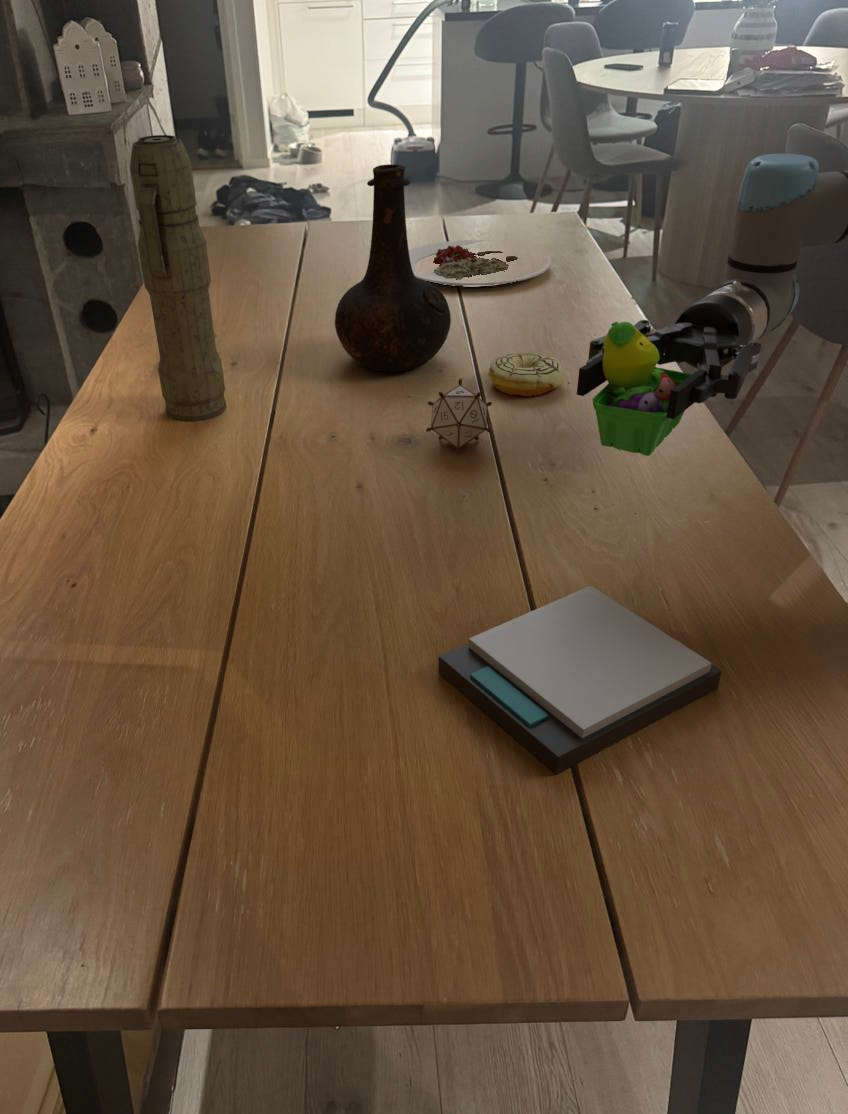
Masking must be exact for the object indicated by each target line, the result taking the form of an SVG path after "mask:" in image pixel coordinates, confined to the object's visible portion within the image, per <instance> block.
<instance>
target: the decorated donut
mask: <svg viewBox="0 0 848 1114" xmlns="http://www.w3.org/2000/svg"><path fill="white" fill-rule="evenodd" d="M488 371H489V372H488V376H489V379H490V381H491V382H492V384H493V386H494V387H495V388H496V389H497V390H498V391H500V392H502V393H504V394H507V395H509V396H521V397H532V396H533V395H534V397H537V396H540V395H543V393H544V394H546V393H549V392H551V391H554V390H553V389H555V388H556V389H557V388H558V387H559V386H560V385H561V384H562V381H563V377H564V374H565V369H564V366H563V364H562V363H561V362H560V361H559V360H558V359H557V358H555V357H553V356H551V355H545V354H538V353H532V352H527V353H526V352H525V353H509V354H506V355H502V356H499V357H497V358H495V359H493V360H492V362H490V363H489V368H488ZM556 389H555V390H556ZM550 390H551V391H550ZM548 391H549V392H548ZM536 395H537V396H536Z"/></svg>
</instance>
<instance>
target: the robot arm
mask: <svg viewBox="0 0 848 1114" xmlns="http://www.w3.org/2000/svg"><path fill="white" fill-rule="evenodd" d="M819 168H820V167H819V161H818V160H817V159H815V158H814V157H812V156H809V155H805V154H797V153H766V154H761V155H758V156H757V157H754V158H753V159H751V161H749V163H748V164H747V166H746V168H745V171H744V174H743V178H742V181H741V185H740V188H739V193H738V197H737V199H736V211H735V219H734V224H733V229H732V238H731V244H730V249H729V253H728V255H727V260H726V265H725V270H724V276H723V281H722V285H721V286H719V287H717V288H716V290H714V291H713V292H710V293H709V294H708V295H706V296H704V297H702V298H701V299H699V300H697V301H696V302H694V303H693V304H691V305H689V306H688V307H687V308H686V309H685V310H684V311H683V312H682V313H681V314H680V315H679V316H678V318H677V319H676V321H675V322H674V323H673V324H670V325H666V326H664V327H662V328H661V329H657V328H652V325H650V324H651V322H650V321H649V320H647V319H640V320H638V321H637V322H636V323H635V324H634V325H633V326H634V327H636V328H637V329H638V330H639V331H640V332H641V333H642V334H643V335H644V336H645V337H646V338H647V339H648V340H649V341H650V342H651V343H652V344H654V345H655V347H656V348H657V350H658V352H659V356H660V360H659V361H658V362H657V364H656V365H660V366H662V365H666V364H671V363H677V364H681V363H686V364H687V365H688V366H690V367H692V368H693V369H696V371H694V372H693V373H691V374H692V375H691V376H689V377H688V378H687V379H685V380H684V381H683V382H681V383H680V384H679V385H677V386H676V387H675V388H673V389H672V390H671V392H670V398H669V404H668V410H667V416H666V417H667V418H671V419H675V418H676V417H677V416H678V415H680V414H681V413H682V412H683V411H684V412H685V411H686V410H687V409H689V408H690V407H692V405H694V404H703V403H705V402H706V401H707V400H708V399H710V398H714V397H717V395H718V394H723V397H724V398H726V399H727V400H735V399H737V398H738V396H739V393H740V391H741V389H742V387H743V385H744V382H745V381H746V378H747V376H748V374H749V373H751V372H752V371H754V370H756V369H757V368H758V365H759V364H758V363H759V359H760V354H761V349H762V343H760V342H758V340H760V339H761V338H763V337H764V336H765V335H768V333H770V332H772V331H774V330H775V329H777V328H778V327H780V326H781V325H782V323H783V322H785V320H786V319H787V317H789V316H790V314H792V313H793V310H794V309H795V307H796V306H797V304H798V301H799V297H800V285H799V281H798V278H797V275H796V274H795V273H796V268H797V266H798V265H797V264H798V261H799V257H800V255H801V254H800V253H801V250H802V247H813V246H824V245H832V244H833V245H834V244H844V243H848V170H836V171H835V170H834V171H824V172H819ZM605 336H606V335H604V336H601V337H598V338H595V339H593V340H590V341H589V349H588V357H587V358H588V359H587V360H586V363H585V364H584V365H583V366H581V367H579V368H578V375H577V376H578V377H577V386H576V395H577V396H581V397H584V396H586V395H587V394H589V393H591V392H592V391H594V390H595V389H596V388H598V387H599V386H602V385H603V384H604V383H605V382H608V381H607V379H606V377H605V375H604V372H603V357H604V339H605ZM732 361H733V363H732V365H731V367H730V370H729V371H728V374H722V369H723V367H725V366H727V365H728V364H730V363H731V362H732Z"/></svg>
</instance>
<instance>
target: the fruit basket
mask: <svg viewBox="0 0 848 1114" xmlns="http://www.w3.org/2000/svg"><path fill="white" fill-rule="evenodd" d="M604 336H605V339H604V357H603V372H604V375H605V377H606V379H607V381H606V382H608V383H607V384H606V386H605V387H603V388H602V389H601V390H600V391H599V392H597V394H596V395H595V396H593V398H592V400H591V401H592V406H593V410H594V411H595V416H596V421H597V427H598V433H599V438H600V444H601V446H602V447H609V448H613V449H616V450H620V451H624V452H628V453H633V454H640V455H643V456H646V457H649V456H651V455H652V454H653V452H655V450H656V448H658V447H659V446H660V445H661V444H662V443H663V442H664V439H666V438H667V437H668V436H669V435H670V434H671V433H672V431H673V430H674V429H675V428H676V427H677V426H678V425H679V423H680V422H681V420H682V417H683V415H684V413H685V411H683V412H682V413H681V414H680V415H678V416H677V417H676V418H675V419H671V418H667V417H666V416H667V410H668V404H669V398H670V392H671V390H672V389H673V388H675V387H676V386H677V385H679V384H680V383H681V382H683V381H684V380H685V379H687V378H688V377H689V376H691V375H692V374H693V373H687V372H684V371H678V370H673V369H666V368H662V367H657V365H658V364H657V362H658V361H659V360H660V356H659V352H658V350H657V348H656V347H655V345H654V344H652V343H651V342H650V341H649V340H648V339H647V338H646V337H645V336H644V335H643V334H642V333H641V332H640V331H639V330H638V329H637V328H636V327H634V325H633V323H631V322H629V321H621V322H618V321H614V322H613V323H611V327H610V328H609V329H608V331H607V333H606V334H605V335H604Z"/></svg>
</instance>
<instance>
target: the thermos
mask: <svg viewBox="0 0 848 1114" xmlns="http://www.w3.org/2000/svg"><path fill="white" fill-rule="evenodd" d="M129 162H130V163H129V169H130V170H129V171H130V177H131V183H132V190H133V195H134V201H135V202H134V203H135V207H136V210H137V211H138V216H139V219H138V226H139V234H138V241H137V243H138V244H137V249H138V254H139V261H140V267H141V273H142V278H143V285H144V288H145V290H146V291H147V293H148V295H149V300H150V306H151V312H152V316H153V317H152V318H153V323H154V329H155V330H154V331H155V335H156V342H157V347H158V354H159V364H158V369H157V371H158V377H159V383H160V389H161V395H162V397H163V399H164V404H165V413H166V415H167V414H168V415H167V416H168V417H169V416H170V417H169V418H171V417H172V418H171V419H173V418H174V419H173V420H176V419H180V420H179V421H182V420H198V421H203V420H202V419H205V420H208V418H209V419H212V418H215V417H217V416H219V415H221V414H222V413H223V411H224V412H225V410H226V409H227V402H226V399H225V391H226V385H225V377H224V370H223V362H222V359H221V357H220V355H219V352H218V351H217V346H216V337H215V330H214V322H213V314H212V313H213V312H212V306H211V299H210V292H209V289H210V287H211V286H210V285H211V282H212V279H211V271H210V262H209V254H208V246H207V239H206V237H205V235H204V233H203V231H202V228H201V225H200V222H199V221H200V220H199V215H198V214H197V210H196V206H197V197H196V189H195V183H194V175H193V167H192V162H191V159H190V156H189V154H188V151H187V150H186V147H185V145H184V143H183V141H182V139H180V138H176V135H170V134H156V135H155V134H154V135H145V136H142V137H139V138H137V140H136V141H134V142H132V147H131V154H130V161H129ZM225 408H226V409H225Z"/></svg>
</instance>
